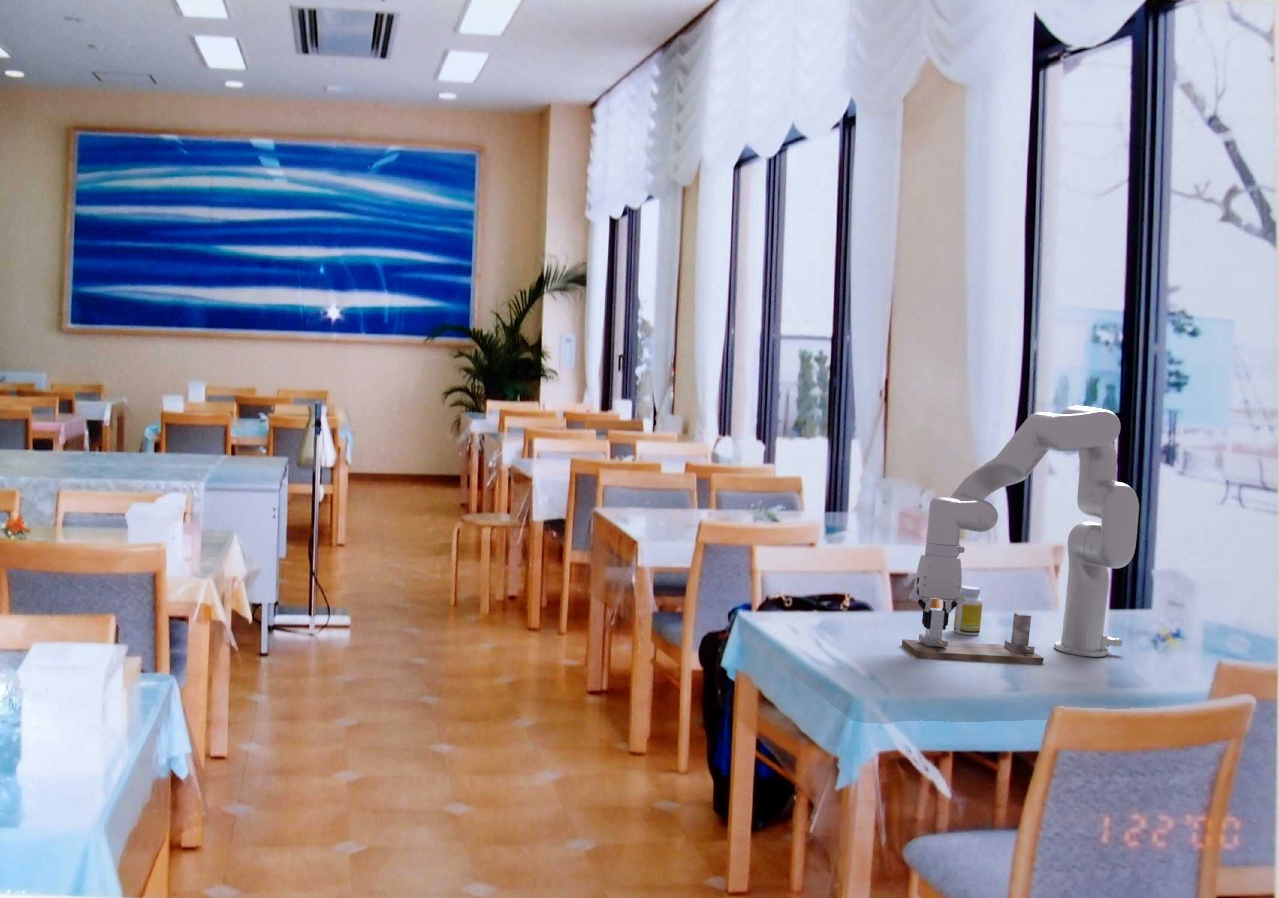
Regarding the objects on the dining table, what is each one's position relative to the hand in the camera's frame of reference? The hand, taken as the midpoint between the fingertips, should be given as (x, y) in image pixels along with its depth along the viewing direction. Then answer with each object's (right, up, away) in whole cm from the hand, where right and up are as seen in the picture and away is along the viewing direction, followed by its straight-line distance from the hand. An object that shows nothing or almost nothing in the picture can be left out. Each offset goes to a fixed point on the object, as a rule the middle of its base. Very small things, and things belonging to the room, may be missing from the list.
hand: (934, 627), depth 331 cm
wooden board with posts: (+9, -6, 0) cm, 11 cm away
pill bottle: (+13, -5, +25) cm, 28 cm away
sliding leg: (0, -4, -1) cm, 4 cm away
